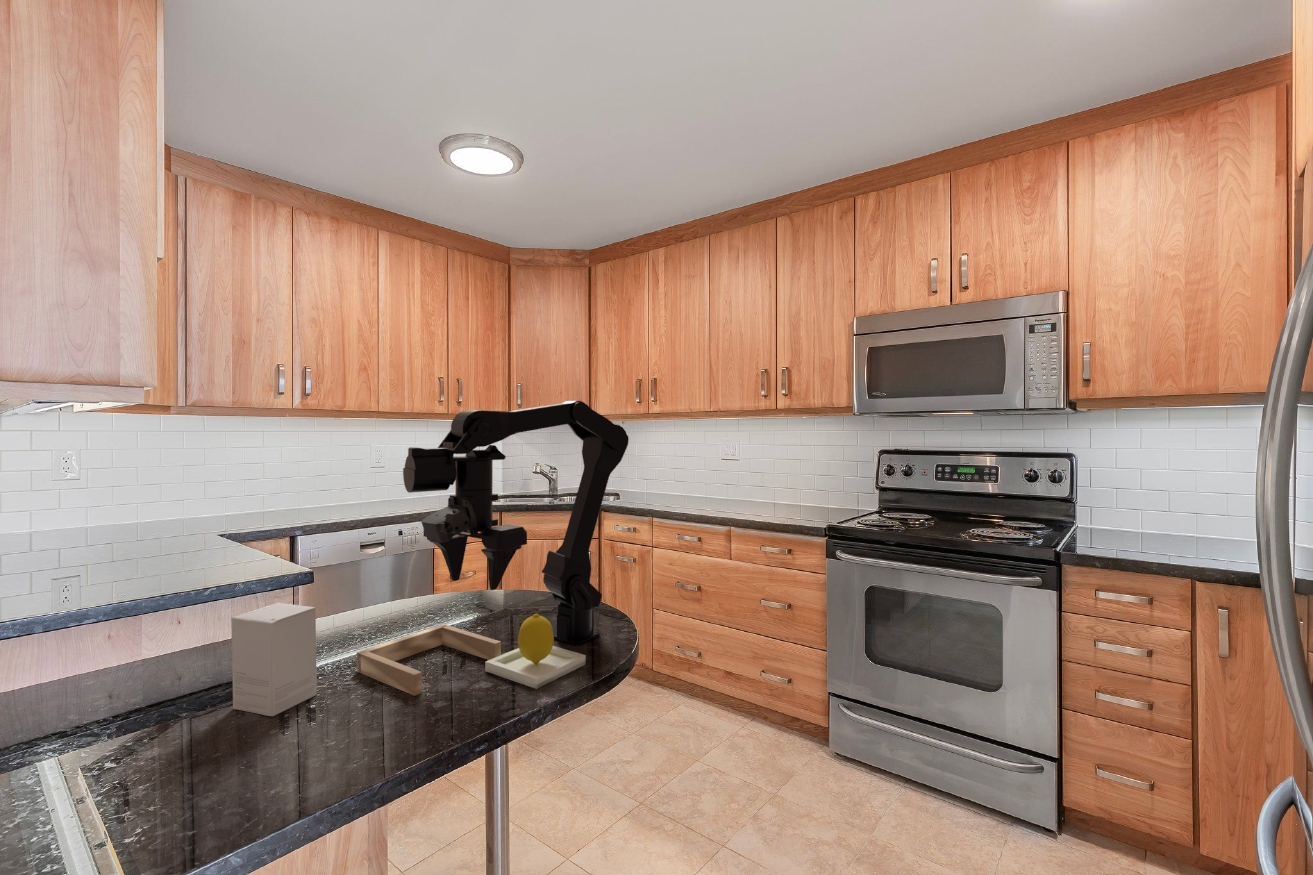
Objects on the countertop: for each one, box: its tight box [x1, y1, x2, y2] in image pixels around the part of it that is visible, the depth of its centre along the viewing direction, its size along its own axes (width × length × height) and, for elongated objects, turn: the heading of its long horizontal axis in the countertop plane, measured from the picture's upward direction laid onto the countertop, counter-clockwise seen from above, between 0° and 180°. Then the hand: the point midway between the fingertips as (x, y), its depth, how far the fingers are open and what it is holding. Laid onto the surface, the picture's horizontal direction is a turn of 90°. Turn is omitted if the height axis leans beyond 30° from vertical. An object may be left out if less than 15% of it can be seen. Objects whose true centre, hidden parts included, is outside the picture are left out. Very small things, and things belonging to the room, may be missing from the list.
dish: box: [484, 645, 586, 690], centre depth 98 cm, size 11×11×2 cm
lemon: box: [517, 613, 555, 664], centre depth 98 cm, size 6×6×8 cm
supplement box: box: [230, 602, 318, 717], centre depth 85 cm, size 7×7×13 cm
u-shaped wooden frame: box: [356, 623, 502, 697], centre depth 98 cm, size 16×15×3 cm
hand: (474, 584), depth 100 cm, fingers open, 9 cm apart
